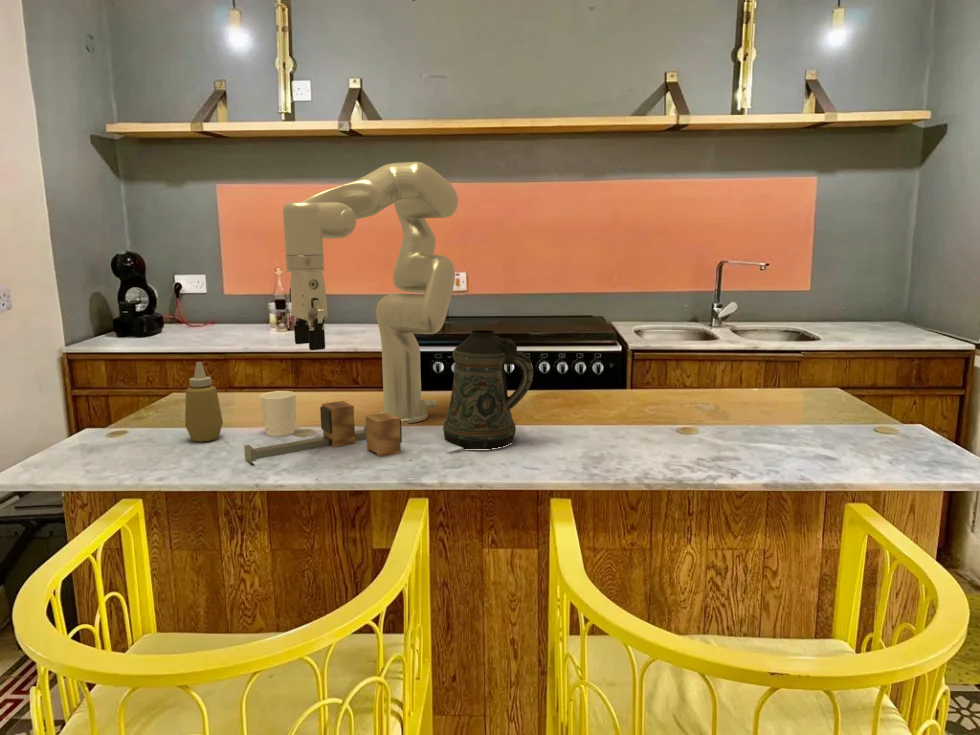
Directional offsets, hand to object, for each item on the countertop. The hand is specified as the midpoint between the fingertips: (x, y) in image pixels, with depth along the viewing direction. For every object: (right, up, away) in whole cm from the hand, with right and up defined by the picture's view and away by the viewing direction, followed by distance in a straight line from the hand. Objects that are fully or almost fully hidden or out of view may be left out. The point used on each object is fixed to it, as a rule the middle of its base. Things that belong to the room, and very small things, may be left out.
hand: (309, 346), depth 149 cm
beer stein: (+37, -21, +13) cm, 44 cm away
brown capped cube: (+15, -23, +2) cm, 28 cm away
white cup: (-11, -21, +17) cm, 29 cm away
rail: (-1, -23, +6) cm, 23 cm away
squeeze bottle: (-28, -21, +16) cm, 39 cm away
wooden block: (+4, -21, +9) cm, 23 cm away
